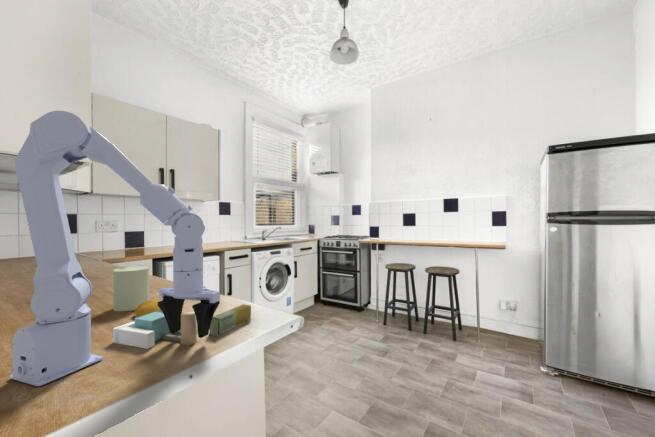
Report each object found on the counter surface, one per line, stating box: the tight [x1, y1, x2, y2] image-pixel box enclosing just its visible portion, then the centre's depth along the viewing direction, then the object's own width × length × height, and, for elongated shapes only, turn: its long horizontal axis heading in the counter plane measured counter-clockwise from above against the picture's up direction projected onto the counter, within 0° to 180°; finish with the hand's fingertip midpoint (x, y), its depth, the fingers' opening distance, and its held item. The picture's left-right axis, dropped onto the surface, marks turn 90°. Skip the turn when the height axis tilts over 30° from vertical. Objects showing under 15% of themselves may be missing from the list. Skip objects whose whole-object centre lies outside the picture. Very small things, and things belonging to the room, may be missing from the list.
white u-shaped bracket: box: [112, 320, 181, 350], centre depth 64 cm, size 10×10×3 cm
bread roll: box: [133, 299, 163, 318], centre depth 79 cm, size 8×9×4 cm
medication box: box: [208, 303, 252, 337], centre depth 70 cm, size 12×3×4 cm, turn 158°
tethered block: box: [134, 310, 198, 346], centre depth 62 cm, size 5×14×6 cm, turn 71°
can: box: [112, 265, 150, 312], centre depth 87 cm, size 9×9×12 cm
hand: (189, 333), depth 61 cm, fingers open, 7 cm apart
